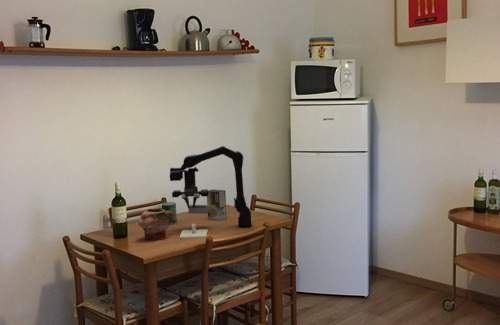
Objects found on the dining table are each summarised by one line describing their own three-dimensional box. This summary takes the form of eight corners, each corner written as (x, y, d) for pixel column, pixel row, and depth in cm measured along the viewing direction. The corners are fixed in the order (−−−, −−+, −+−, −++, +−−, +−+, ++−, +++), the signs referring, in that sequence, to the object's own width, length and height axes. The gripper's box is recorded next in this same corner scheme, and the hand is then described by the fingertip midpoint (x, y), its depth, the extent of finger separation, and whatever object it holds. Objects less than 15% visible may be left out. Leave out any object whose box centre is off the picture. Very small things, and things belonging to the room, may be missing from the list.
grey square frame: (209, 209, 294) (209, 205, 294) (207, 213, 285) (207, 209, 284) (190, 209, 294) (190, 204, 294) (188, 213, 284) (188, 208, 284)
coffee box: (227, 218, 313) (225, 190, 311) (220, 220, 307) (219, 192, 305) (214, 216, 318) (212, 189, 316) (207, 218, 312) (206, 190, 310)
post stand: (207, 231, 284) (207, 220, 284) (206, 237, 271) (205, 226, 271) (182, 232, 284) (182, 221, 283) (179, 238, 271) (179, 227, 270)
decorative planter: (165, 231, 287) (164, 205, 285) (181, 234, 279) (179, 207, 277) (133, 239, 272) (132, 211, 271) (148, 243, 264) (147, 215, 262)
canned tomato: (178, 221, 309) (177, 201, 307) (175, 224, 301) (174, 204, 300) (164, 221, 310) (163, 202, 308) (160, 224, 302) (159, 204, 300)
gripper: (170, 183, 279) (171, 213, 281) (206, 182, 279) (208, 212, 281) (172, 179, 290) (174, 208, 292) (208, 178, 290) (209, 207, 292)
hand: (191, 209), depth 289 cm, fingers closed on grey square frame, 2 cm apart
